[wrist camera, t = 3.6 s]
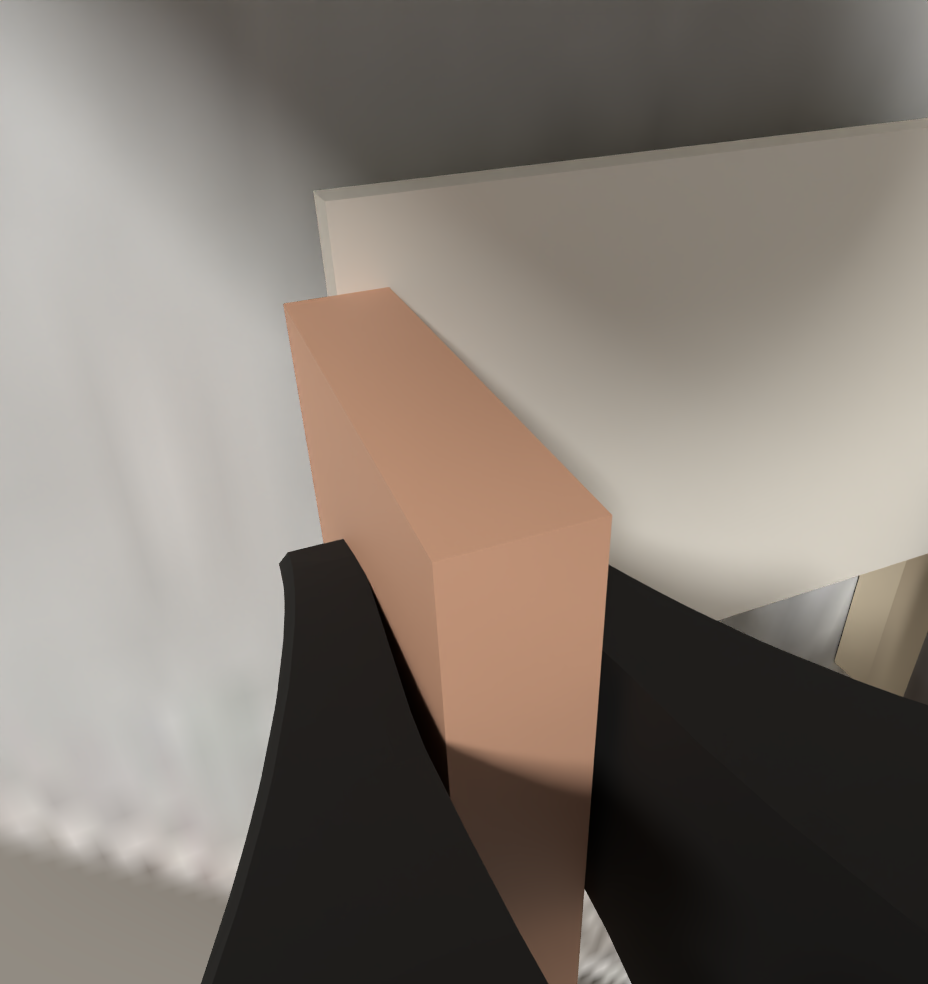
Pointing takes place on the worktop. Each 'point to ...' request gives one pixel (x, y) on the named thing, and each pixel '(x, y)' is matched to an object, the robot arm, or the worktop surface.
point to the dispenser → (889, 630)
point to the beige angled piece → (608, 433)
